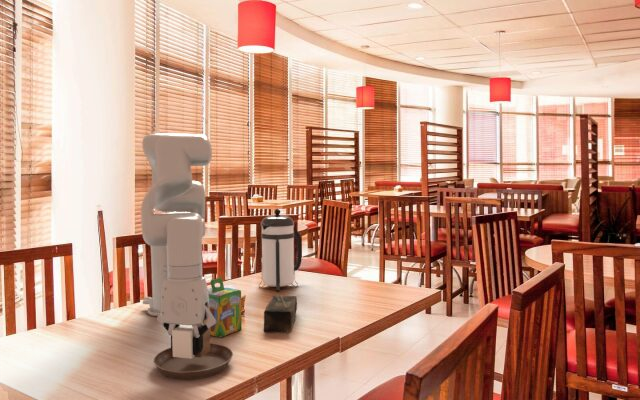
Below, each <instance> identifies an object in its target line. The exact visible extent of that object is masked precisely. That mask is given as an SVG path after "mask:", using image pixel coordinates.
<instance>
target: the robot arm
mask: <svg viewBox="0 0 640 400" xmlns="http://www.w3.org/2000/svg"><path fill="white" fill-rule="evenodd" d="M141 142H142V143H141V144H142V149H143V150H142V151H143V152H144V153H143V154H144V156H145V157H146V160H147V161H148V163H149V165H150V168H151V187H150V188H149V189H148V191H147V192H146V194H145V195H144V197H143V199H142V202H141V207H140V221H141V222H140V223H141V236H142V239H143V241H144V243H146V245H148V246H150V256H151V257H150V258H151V259H150V260H151V291H152V295H151V296H152V297H151V296H144V298H143V300H142V304H143V305H149V307H148V308H147V314H148V315H150V316H153V317H156V320H157V321H158V322H159V324H161V325H162V326H163V328H164V330H166V331H167V334H168V336H170V348H172V353H173V347H172V330H173V329H175V328H177V327H179V326H180V325H192V327H193V332H194V337H193V339H192V342H193V355H197V354H199V353H200V352H202V349H203V334H204V333H205V332H206V331H207V330H208V329H209V328H210V327H212V326H213V325H214V324H216V322H217V321H216V319H215V318H214V316H213V315H212V313H211V312H210V305H209V295H208V289H209V288H208V284H207V281H206V277H205V276H203V246H202V245H203V238H204V237H205V235H206V192H205V191H206V189H205V187H204V185H203V183H201V182H200V181H196V180H193V173H192V167H193V166H195V167H198V166H200V167H203V166H204V167H205V166H208V165H209V164H210V163H211V161H212V157H213V156H212V155H213V149H212V145H211V144H212V143H211V141H210V139H209V138H208V137H207V136H206V135H205V134H199V133H198V134H197V133H196V134H195V133H163V132H162V133H149V134H146V135H144V137H143V139H142V141H141ZM154 210H155V211H158V212H160V213H154ZM203 320H207V323H206V324H205V325H204V324H203Z"/></svg>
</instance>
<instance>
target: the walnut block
mask: <svg viewBox="0 0 640 400" xmlns="http://www.w3.org/2000/svg"><path fill="white" fill-rule="evenodd" d="M210 343H211V335H210V328H209V329H208V330H207V331H206V332H205V333H204V334H203V349H202V352H200V353H199V354H197V355H195V356H194V357H199V358H201V357H202V356H204V355H205V354H207V353H208V352H209V351H210Z"/></svg>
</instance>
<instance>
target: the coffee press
mask: <svg viewBox="0 0 640 400" xmlns="http://www.w3.org/2000/svg"><path fill="white" fill-rule="evenodd" d="M274 214H275V215H268V216H265V217H264V218H263V219H262V220H261V222H260V226H261V232H260V234H261V235H260V237H261V238H260V239H261V240H260V241H261V242H260V243H261V244H260V245H261V246H260V247H261V250H260V252H261V254H260V255H261V278H262V280H261V281H260V283H258V288H259V289H262V288H263V287H265V286H267V287H276V288H275V289H276V290H275V292H276V293H277V292H280V291H281V287H286V286H290V285H292V286H293V287H294V288H298V286H299V285H298V282H297V281H296V278H295V277H296V275H295V272H296V271H298V270H299V268H300V267H301V264H302V259H303V258H302V252H303V251H302V250H303V249H302V248H303V247H302V237H301V234H300V232H298V231H296V230H294V226H295V222H294V220H293V218H292V217H290V216H288V215H280V214H281V209H278V208H276V209H274ZM295 239H296V263H295ZM294 282H295V283H296V286H295V285H294V284H293V283H294ZM261 283H263V285H262V286H260V285H261Z"/></svg>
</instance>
